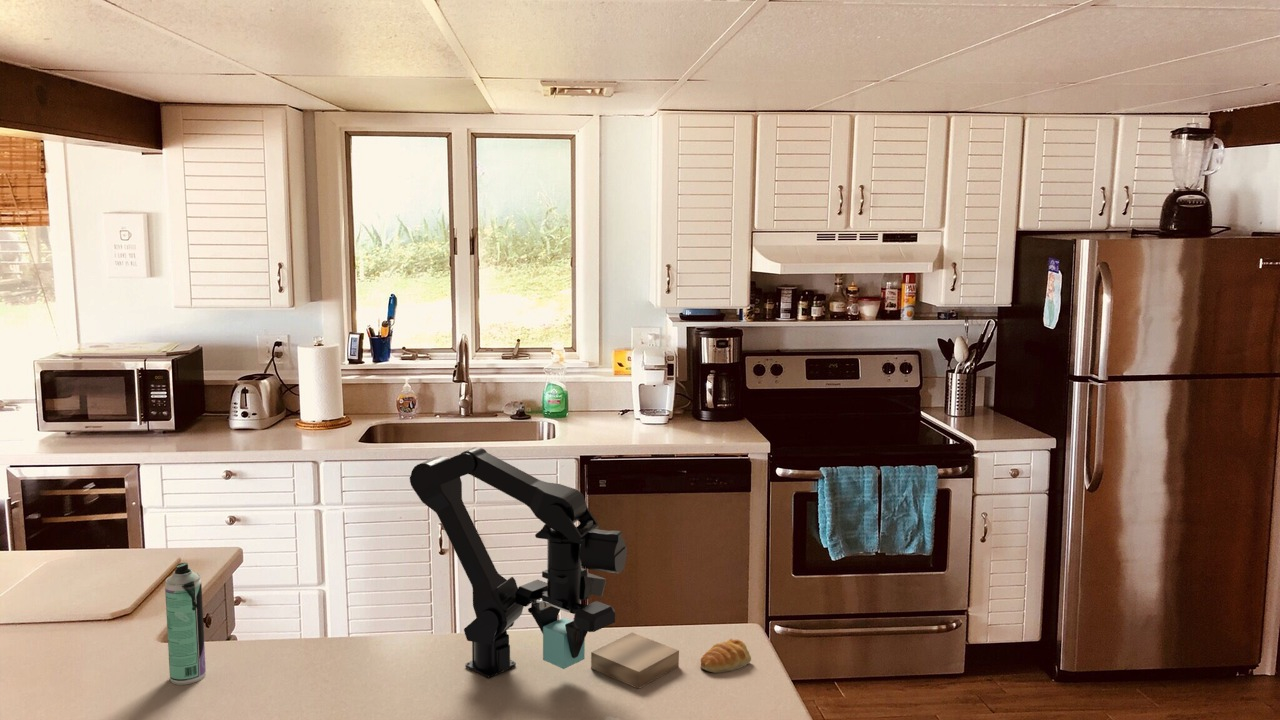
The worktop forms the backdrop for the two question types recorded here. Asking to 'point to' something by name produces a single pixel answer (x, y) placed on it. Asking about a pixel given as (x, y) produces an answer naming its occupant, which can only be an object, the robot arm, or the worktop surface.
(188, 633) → the spray can
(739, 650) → the pastry
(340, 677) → the worktop surface
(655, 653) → the oak base
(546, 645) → the teal block
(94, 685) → the worktop surface
